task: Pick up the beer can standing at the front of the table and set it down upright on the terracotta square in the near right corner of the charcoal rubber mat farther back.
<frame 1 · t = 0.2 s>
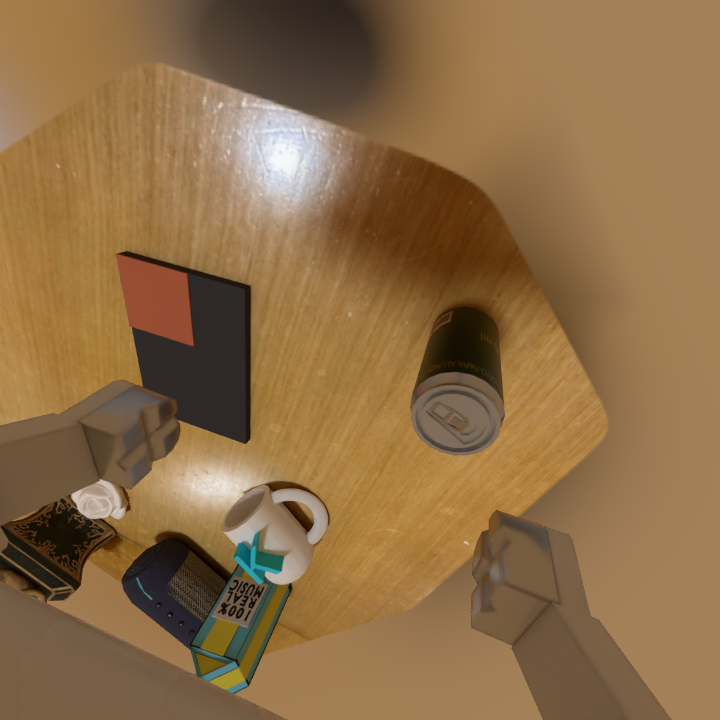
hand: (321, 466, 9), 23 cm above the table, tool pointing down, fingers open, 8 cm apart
carton: (267, 568, 59), on the table
rose: (108, 489, 62), on the table
decorative box: (91, 520, 70), on the table
portable speaker: (215, 574, 66), on the table
mat: (194, 354, 41), on the table
beer can: (464, 333, 31), on the table
mug: (296, 512, 50), on the table
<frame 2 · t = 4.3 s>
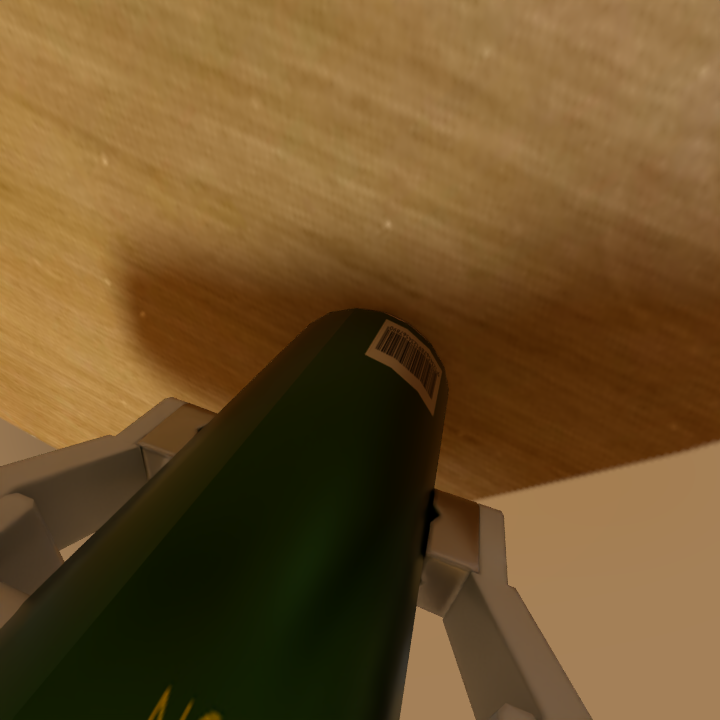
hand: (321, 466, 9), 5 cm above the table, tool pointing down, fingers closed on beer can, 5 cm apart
beer can: (372, 371, 13), on the table, touching gripper
when the fingers open (6 cm above the table, at t = 11.8 s): beer can stays where it is, resting on mat.
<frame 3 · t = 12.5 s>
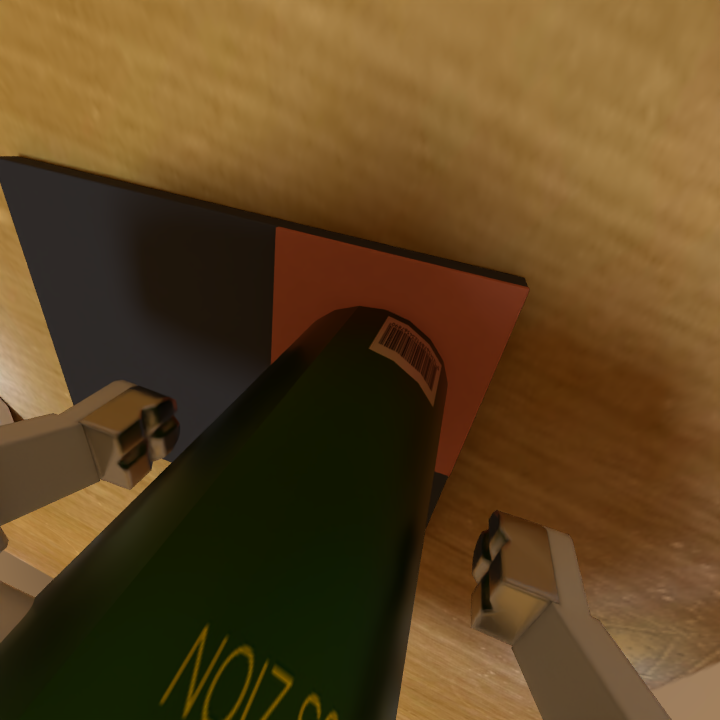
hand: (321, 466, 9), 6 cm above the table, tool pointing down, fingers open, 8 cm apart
mat: (242, 370, 17), on the table
beer can: (374, 366, 13), point 1 cm above the table, touching mat
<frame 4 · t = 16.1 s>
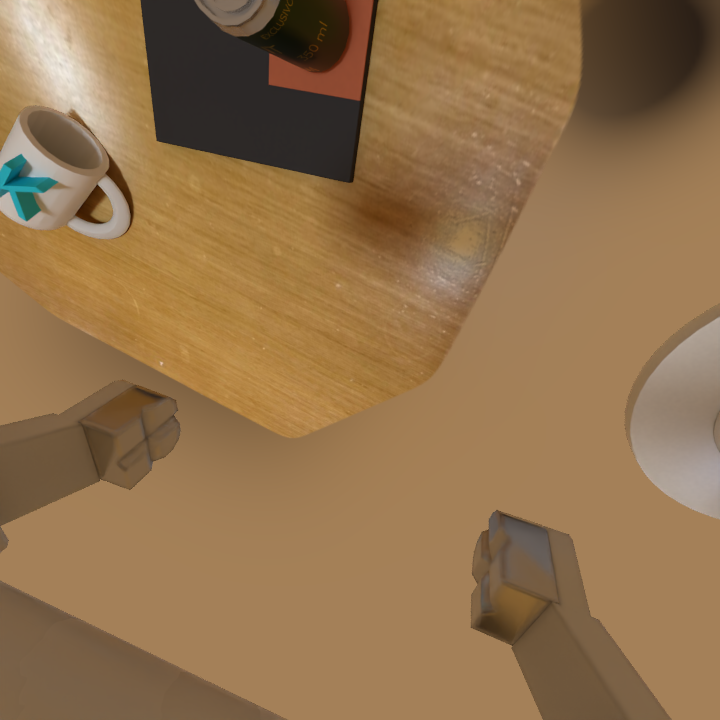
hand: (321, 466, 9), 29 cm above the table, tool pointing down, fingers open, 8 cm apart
mat: (254, 68, 31), on the table
beer can: (319, 30, 28), point 1 cm above the table, touching mat
mug: (90, 193, 42), on the table
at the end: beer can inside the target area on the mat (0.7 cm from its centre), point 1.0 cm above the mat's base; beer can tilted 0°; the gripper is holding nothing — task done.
